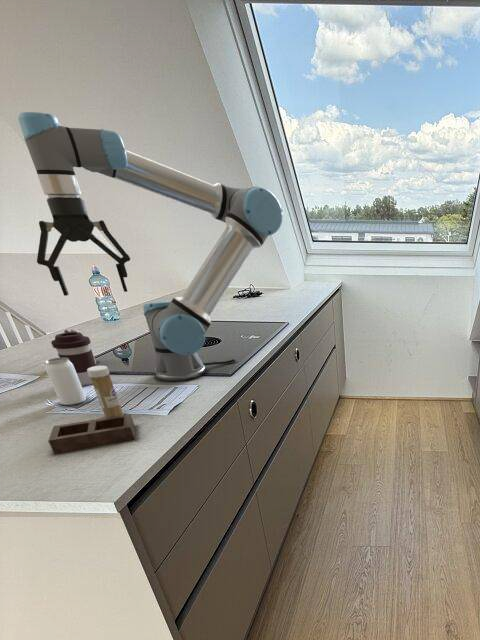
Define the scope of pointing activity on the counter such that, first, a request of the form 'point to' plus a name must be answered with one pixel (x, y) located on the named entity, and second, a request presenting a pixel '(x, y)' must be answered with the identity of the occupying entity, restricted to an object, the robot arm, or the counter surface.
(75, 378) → the can
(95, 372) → the sprinkles bottle
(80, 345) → the coffee cup
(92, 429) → the holder
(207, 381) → the counter surface
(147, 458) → the counter surface
